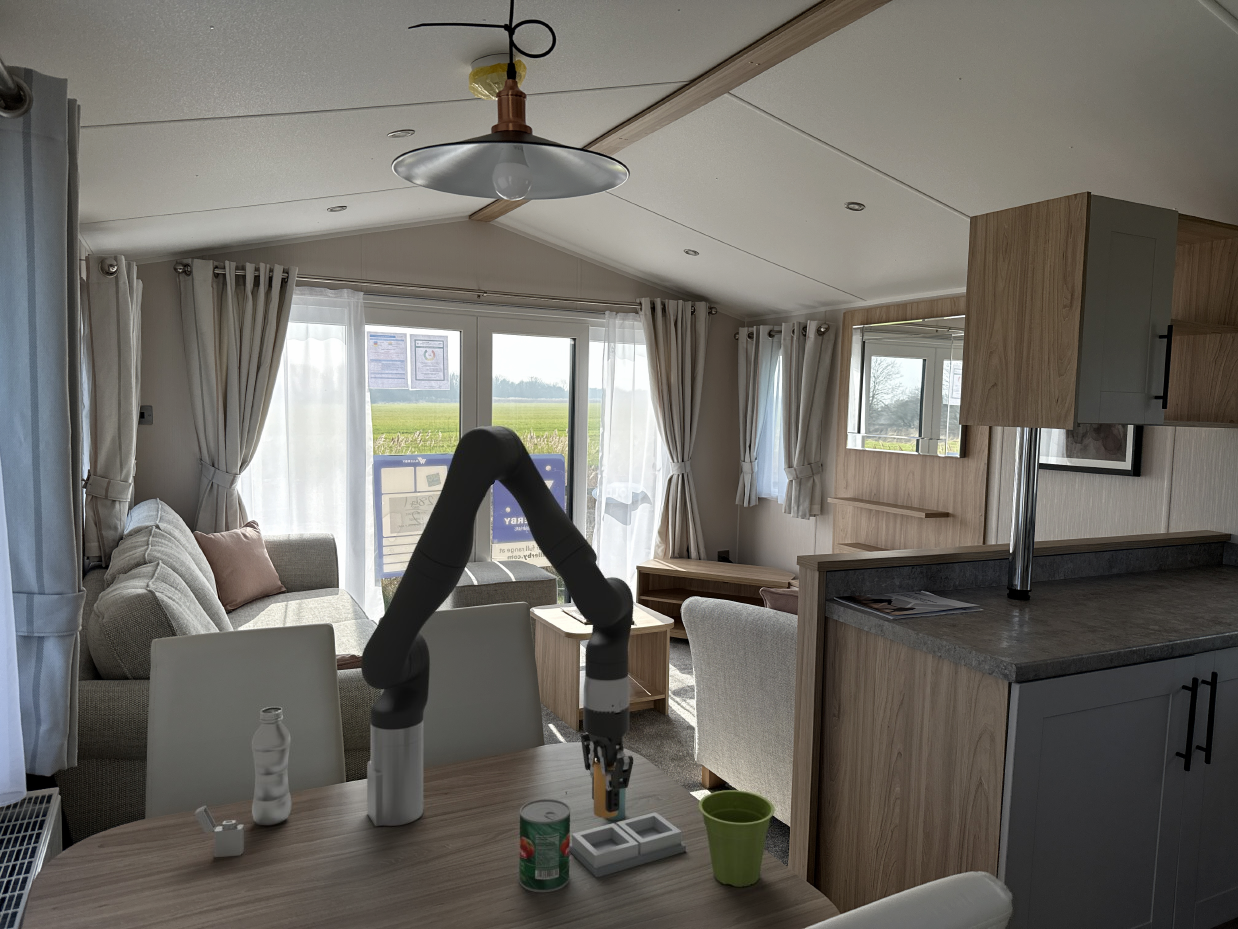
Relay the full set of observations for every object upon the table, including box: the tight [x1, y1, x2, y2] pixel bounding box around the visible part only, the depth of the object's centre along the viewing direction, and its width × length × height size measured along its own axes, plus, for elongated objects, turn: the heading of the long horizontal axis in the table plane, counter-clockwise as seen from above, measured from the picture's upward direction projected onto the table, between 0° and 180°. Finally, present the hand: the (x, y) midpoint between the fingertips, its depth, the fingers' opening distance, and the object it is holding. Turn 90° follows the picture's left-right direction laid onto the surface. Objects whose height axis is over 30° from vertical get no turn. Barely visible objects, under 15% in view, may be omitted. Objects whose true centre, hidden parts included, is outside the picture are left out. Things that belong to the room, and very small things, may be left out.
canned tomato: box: [518, 798, 571, 893], centre depth 129 cm, size 8×8×11 cm
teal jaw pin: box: [605, 778, 627, 821], centre depth 151 cm, size 4×4×8 cm
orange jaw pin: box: [593, 761, 618, 819], centre depth 136 cm, size 4×4×8 cm
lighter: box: [194, 805, 245, 858], centre depth 135 cm, size 7×2×8 cm, turn 101°
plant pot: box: [698, 789, 776, 888], centre depth 131 cm, size 12×12×11 cm
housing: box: [570, 812, 687, 878], centre depth 138 cm, size 17×10×3 cm, turn 120°
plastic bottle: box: [251, 706, 293, 826], centre depth 147 cm, size 6×7×20 cm
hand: (605, 804), depth 136 cm, fingers closed on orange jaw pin, 4 cm apart
